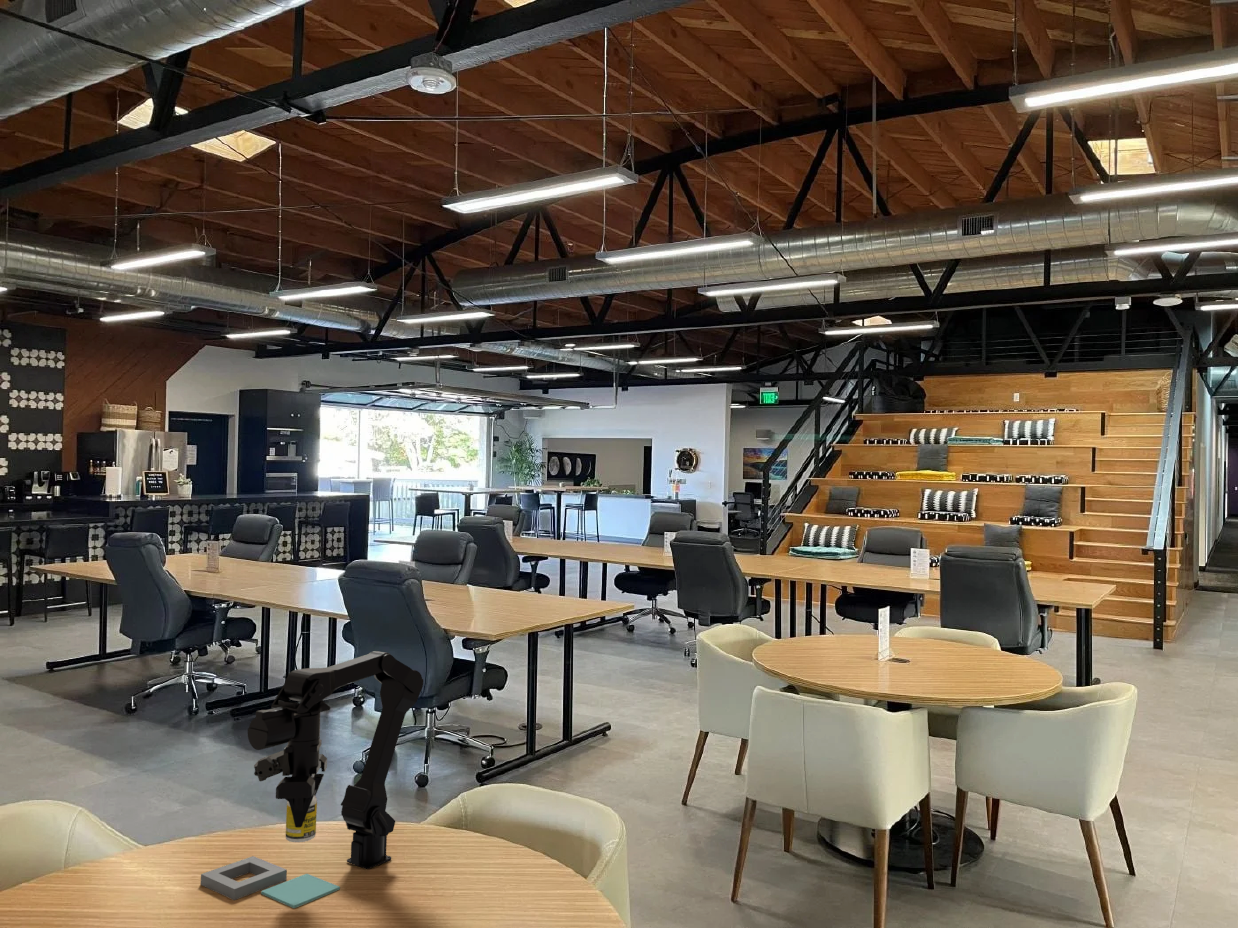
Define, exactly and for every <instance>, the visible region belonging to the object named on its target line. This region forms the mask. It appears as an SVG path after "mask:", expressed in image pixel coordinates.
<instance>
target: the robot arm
mask: <svg viewBox="0 0 1238 928" xmlns="http://www.w3.org/2000/svg"><path fill="white" fill-rule="evenodd" d="M370 677H374V679H375V680H376V681H378V682H379V683H380V684H381V685H380V691H379V697H380V701H381V706H382V708H381V712H380V715H379V718H378V721H377V724H376V728H375V731H374V735H373V737H372V741H371V743H370V744H371V745H370V747H369V751H368V754H367V756H366V761H365V764H364V767H363V769H362V774H361V776H360V778H359V780H357V781H356V782H355V784H354V785H351V784H348V785H347V787H346V788H345V793H344V796H343V799H342V801H341V802H340V806H342V807H341V812H340V813H341V816H342V818H343V821H344V822H345V826H346V828H347V830H348V831H349V830H351V831H354V832H352V841H351V844H350V858H347V859H346V862H347V863H348V864H350V865H353V866H357V867H359V868H362V869H364V870H370V869H373V868H375V867H377V866H380V865H382V864H384V863H388V862H389V861H391V860H392V856H389V855H387V846H388V845H387V844H388V842H387V840H388V836H389V834H390V833H392V832H394V829H395V825H396V820H395V819H394V818H393V817H392V816H391V815H390V814H389V813H388V812H387V811H386V809H387V803H388V796H387V790H386V784H385V783H386V780H387V776H388V772H389V771H390V770H389V769H390V767H391V763H392V759H393V757H394V753H395V750H396V747H397V743H398V740H399V737H400V734H401V730H402V727H403V725H404V724H403V723H404V719H405V716H406V714H407V713H408V712H409V711H410V710H411V708H413V706H414V705H415V704H416V703H417V701H418V699H419V697H420V694H421V692H422V690H423V687H424V678H423V677H422V674H421V672H419V671H418V670H414V669H412V668H411V667H410V666H408V665H406V664H405V663H403V662H401V661H400V660H397V659H396V658H395V657H394V656H393V655H392V654H391V653H389V652H384V651H378V650H374V651H370V652H369V653H368V654H365V655H361V656H358V657H355V658H351V659H349V660H346V661H342V662H339V663H336V664H334V665H331V666H328V667H327V666H326V667H308V668H298V669H294V670H292V671H290V672H289V673H288V674H287V677H286V679H285V682H284V683H283V685H282V686H281V689H280V690H279V692H278V693H277V695H276V697H275V698H274V700H273V702H272V704H271V706H270V707H271V708H270V709H261V710H256V712H255V717H254V718H253V719H252V720H251V721H250V723H249V725H248V726H249V727H248V728H247V739H248V742H249V744H250V746H251V747H252V749H253V750H256V751H261V750H265V749H269V748H274V747H277V746H281V745H285V744H286V746H285V747H284V748H283V750H281V751H280V750H279V751H278V752H275V753H272V754H269V755H266V756H264V757H262V758H259V759H258V760H257V761H256V762H255V764H254V765H253V768H254V773H253V775H254V776H256V777H257V779H258V782H263V781H266V780H267V779H269V778H271V777H274V776H276V775H278V774H281V773H282V774H281V775H282V776H283V778H282V780H280V782H278V784H277V786H276V787H275V799H277V800H286V801H288V802H289V804H290V807H291V811H292V815H293V819H294V823H295V827H302V825H303V822H304V820H305V817H306V815H307V812H308V809H309V807H310V804H311V802H312V799H313V797H314V795H315V796H316V795H317V793H318V791H319V787H320V786H321V784H322V781H323V780H324V779H323V778H324V776H325V772H326V770H327V769H328V758H327V756H325V754H323V753H320V748H321V746H322V740H323V739H321V735H320V734H321V713H323V712H327V711H330V710H331V706H330V705H328V704H327V703H326V702H325V701H324V700H326V699H327V698H329V697H330V696H332V694H333V693H334V692H335V691H336V690H337V689H339V688H341V687H344V686H347V685H350V684H353V683H356V682H358V681H360V680H365V679H367V678H370ZM291 700H292V701H291ZM296 701H297V702H296ZM319 770H321V772H323V773H318V772H319ZM316 797H317V796H316Z"/></svg>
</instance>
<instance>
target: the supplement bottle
mask: <svg viewBox="0 0 1238 928" xmlns="http://www.w3.org/2000/svg"><path fill="white" fill-rule="evenodd" d="M286 801H287V800H286ZM317 809H318V798H317V796H315V795H314V797H313V799H312V802H311V804H310V807H309V809H308V812H307V815H306V817H305V820H304V822H303V825H302V827H295V823H294V819H293V815H292V811H291V807H290V804H289V802H288V801H287V802H286V814H285V818H286V819H285V839H286V841H288V842H290V843H305V842H308V841H312V839H315V837H316V834H317V814H318V813H317V812H318V810H317Z"/></svg>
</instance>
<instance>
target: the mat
mask: <svg viewBox="0 0 1238 928" xmlns="http://www.w3.org/2000/svg"><path fill="white" fill-rule="evenodd" d="M340 889H341V886H339V885H336V884H334V883H332V882H329V881H327V880H324V879H322V878H319V877H317V876H314V875H311V874H309V873H304V874H302V875H300V876H297V877H294V878H292V879H290V880H286V881H283V882H280V883H278V884H275V885H273V886H270V887H267V888H265V889H262V890H260V894H261V895H263V896H265V897H267V898H270V899H271V900H274V901H276V902H279V903H281V904H283V905H285V906H287V907H290V908H291V909H296V908H298V907H301V906H303V905H306V904H309V903H311V902H313V901H315V900H318V899H320V898H322V897H325V896H328V895H330V894H332V893H334V892H337V891H339V890H340Z"/></svg>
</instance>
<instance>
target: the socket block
mask: <svg viewBox="0 0 1238 928" xmlns="http://www.w3.org/2000/svg"><path fill="white" fill-rule="evenodd" d="M287 872H288V870H287V869H286V868H285V867H281V866H279V865H276V864H274V863H271V862H268V860H267V861H266V860H264V859H262V858H259V857H256V856H254V855H252V856H249V857H247V858H244V859H243V858H242V859H241V860H238V861H235V862H232V863H229V864H226V865H224V866H219V867H217V868H213V869H211V870H209V871H206V872H203V873H201V874H200V886H202V887H205V888H206V889H209V890H211V891H213V892H215V893H217V894H220V895H222V896H224V897H227V898H228V899H231V900H232V901H236V900H238V899H241V898H244V897H247V896H249V895H251V894H254V893H256V892H261V891H263V890H265V889H268V888H271V887H273V886H276V885H278V884H281V883H284V882H286V881H287V880H288V879H287V877H288V876H287V875H288V874H287ZM246 874H251V875H254V876H251V877H248V878H246V879H243V880H240V881H237V880H235V878H238V877H241V876H244V875H246Z"/></svg>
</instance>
